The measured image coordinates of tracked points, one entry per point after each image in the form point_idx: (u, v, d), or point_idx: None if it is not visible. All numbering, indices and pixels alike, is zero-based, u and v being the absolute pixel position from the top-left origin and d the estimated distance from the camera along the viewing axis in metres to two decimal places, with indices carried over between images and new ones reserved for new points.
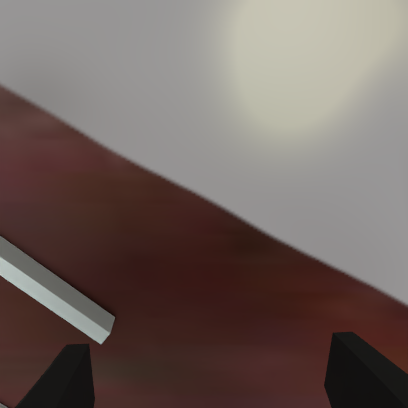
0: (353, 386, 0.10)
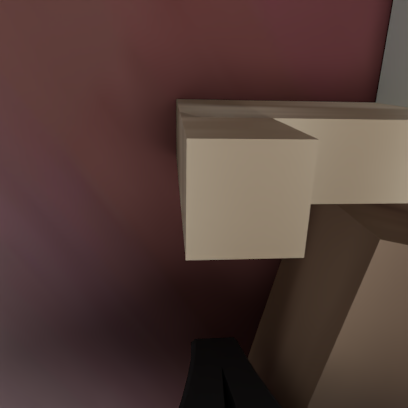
0: None
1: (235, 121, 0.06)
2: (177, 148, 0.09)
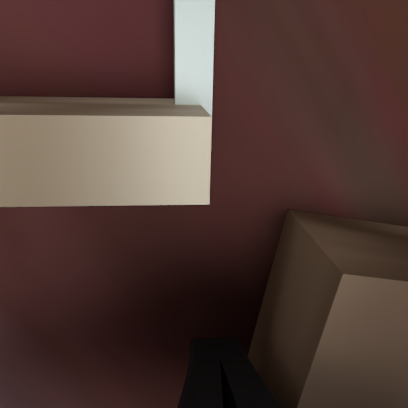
0: None
1: None
2: None
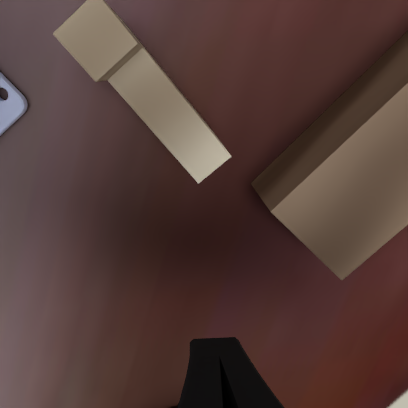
0: (221, 394, 0.10)
1: None
2: None
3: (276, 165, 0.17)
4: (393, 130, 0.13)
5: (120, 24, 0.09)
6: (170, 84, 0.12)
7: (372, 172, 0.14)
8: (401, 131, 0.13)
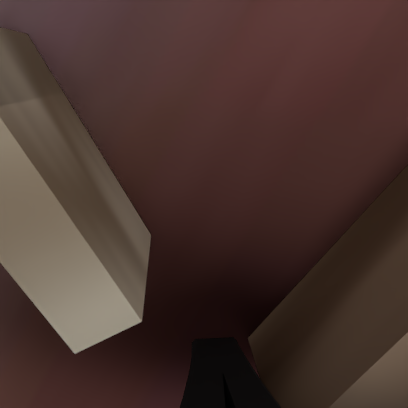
0: None
1: None
2: None
3: (282, 325, 0.11)
4: None
5: None
6: (42, 185, 0.06)
7: None
8: None
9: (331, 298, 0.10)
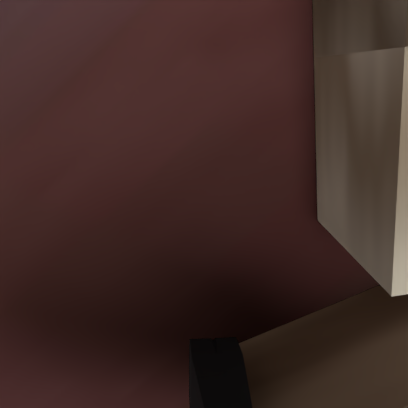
0: (193, 396, 0.09)
1: None
2: None
3: (271, 349, 0.11)
4: None
5: None
6: None
7: None
8: None
9: (334, 344, 0.11)
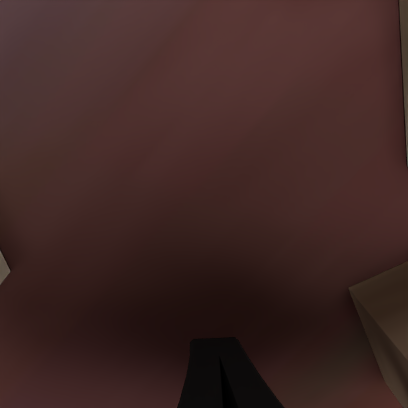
0: (221, 394, 0.10)
1: None
2: None
3: (400, 280, 0.12)
4: None
5: None
6: None
7: None
8: None
9: None
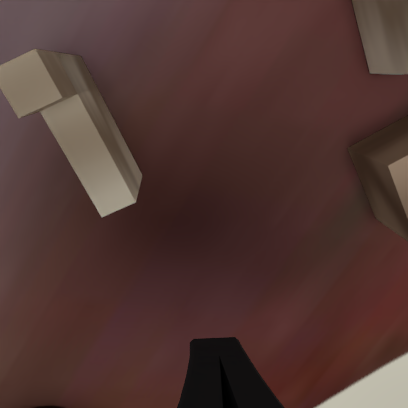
0: (221, 394, 0.10)
1: None
2: None
3: (379, 136, 0.18)
4: None
5: (50, 79, 0.11)
6: (94, 130, 0.14)
7: None
8: None
9: None
